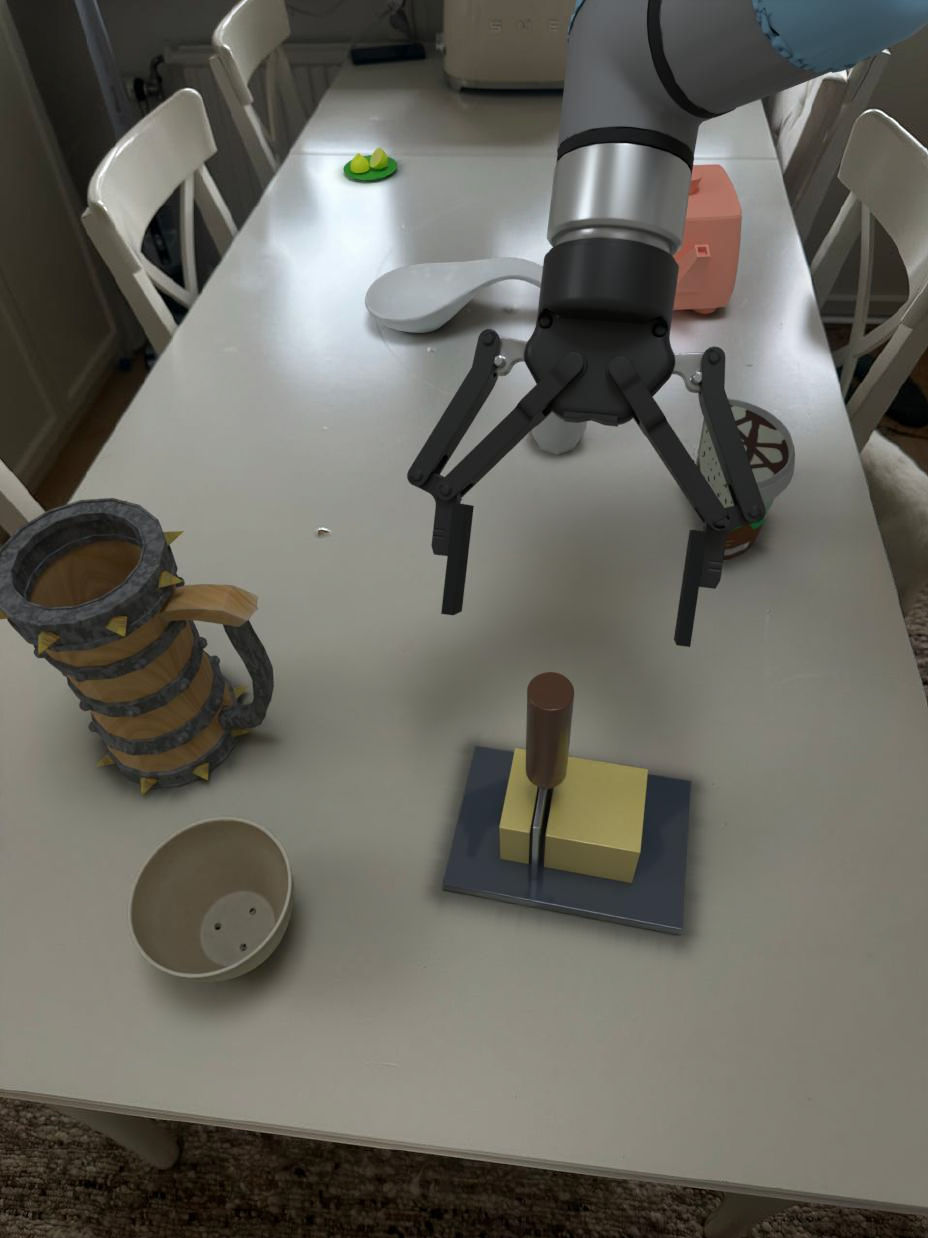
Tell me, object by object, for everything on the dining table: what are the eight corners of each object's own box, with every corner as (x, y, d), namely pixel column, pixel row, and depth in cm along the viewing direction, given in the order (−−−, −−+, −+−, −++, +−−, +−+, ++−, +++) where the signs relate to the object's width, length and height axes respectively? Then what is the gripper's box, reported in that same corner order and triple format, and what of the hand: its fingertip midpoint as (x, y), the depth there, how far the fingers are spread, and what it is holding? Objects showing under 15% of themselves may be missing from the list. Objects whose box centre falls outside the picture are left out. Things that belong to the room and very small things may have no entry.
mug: (132, 655, 73) (29, 478, 58) (328, 676, 71) (276, 498, 55) (65, 792, 65) (-75, 629, 50) (283, 821, 63) (208, 660, 47)
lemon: (386, 154, 131) (384, 134, 129) (405, 175, 126) (403, 155, 124) (336, 166, 129) (333, 146, 127) (354, 188, 125) (351, 168, 123)
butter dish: (689, 787, 63) (703, 745, 58) (680, 935, 57) (695, 902, 52) (475, 751, 66) (472, 709, 61) (443, 890, 59) (437, 854, 55)
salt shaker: (589, 426, 89) (598, 313, 79) (581, 462, 86) (590, 349, 76) (533, 420, 90) (535, 307, 80) (523, 456, 87) (524, 343, 77)
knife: (568, 778, 63) (583, 637, 50) (552, 883, 58) (564, 757, 45) (533, 772, 63) (538, 631, 50) (514, 876, 59) (514, 749, 45)
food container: (789, 568, 76) (821, 483, 68) (720, 574, 76) (744, 489, 68) (750, 474, 84) (775, 388, 76) (687, 479, 84) (705, 393, 76)
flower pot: (173, 868, 61) (138, 824, 55) (314, 853, 61) (294, 808, 56) (154, 1018, 55) (113, 985, 49) (311, 1001, 55) (288, 967, 49)
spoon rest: (360, 347, 100) (351, 290, 94) (377, 291, 107) (369, 235, 102) (565, 351, 98) (569, 292, 92) (568, 294, 105) (571, 237, 99)
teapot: (741, 345, 97) (770, 221, 86) (628, 350, 97) (642, 227, 86) (707, 245, 110) (728, 127, 99) (607, 249, 111) (618, 132, 100)
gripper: (829, 287, 50) (772, 647, 52) (412, 260, 54) (378, 595, 57) (865, 245, 43) (797, 667, 45) (379, 217, 47) (342, 605, 49)
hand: (564, 628), depth 51 cm, fingers open, 13 cm apart
